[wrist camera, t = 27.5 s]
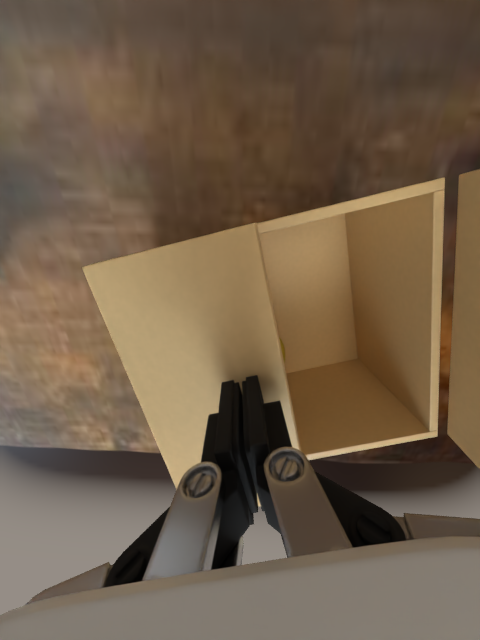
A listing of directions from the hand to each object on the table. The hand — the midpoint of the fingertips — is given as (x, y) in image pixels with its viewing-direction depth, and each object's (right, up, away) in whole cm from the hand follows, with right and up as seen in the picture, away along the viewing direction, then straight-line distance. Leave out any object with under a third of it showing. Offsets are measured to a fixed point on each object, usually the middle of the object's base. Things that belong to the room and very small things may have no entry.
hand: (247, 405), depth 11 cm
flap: (-2, 0, +1) cm, 2 cm away
